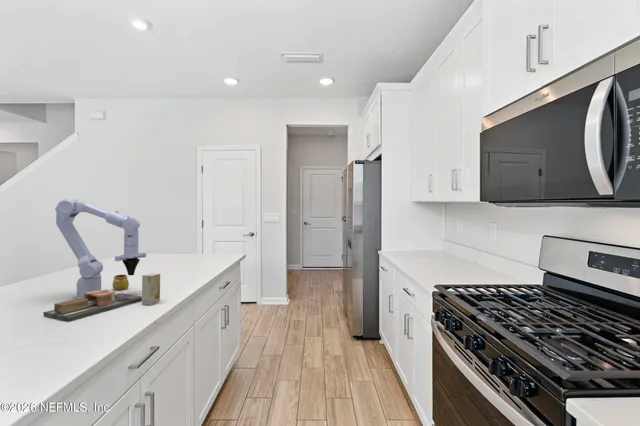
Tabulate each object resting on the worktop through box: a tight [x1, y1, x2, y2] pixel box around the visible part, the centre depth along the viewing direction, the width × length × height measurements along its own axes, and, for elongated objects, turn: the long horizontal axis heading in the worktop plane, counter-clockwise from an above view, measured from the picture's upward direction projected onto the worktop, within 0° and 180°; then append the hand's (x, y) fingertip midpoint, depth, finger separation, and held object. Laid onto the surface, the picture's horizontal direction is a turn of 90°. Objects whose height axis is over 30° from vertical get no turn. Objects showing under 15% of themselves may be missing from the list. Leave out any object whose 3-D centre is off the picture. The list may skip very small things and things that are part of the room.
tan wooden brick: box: [53, 289, 116, 314], centre depth 135 cm, size 6×20×4 cm, turn 157°
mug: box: [112, 274, 129, 292], centre depth 173 cm, size 12×7×7 cm, turn 29°
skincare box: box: [141, 272, 161, 306], centre depth 147 cm, size 6×4×12 cm
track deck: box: [43, 290, 142, 323], centre depth 140 cm, size 14×32×6 cm, turn 157°
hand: (131, 275), depth 158 cm, fingers closed
